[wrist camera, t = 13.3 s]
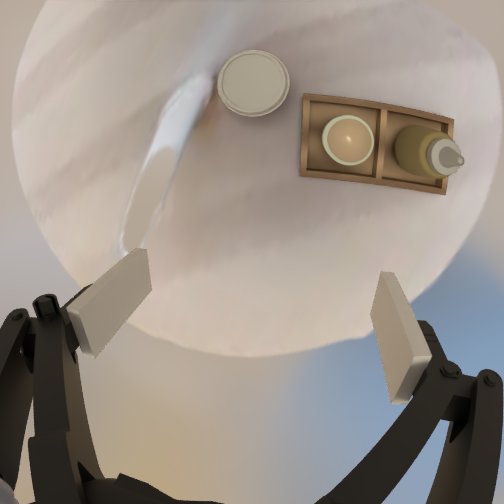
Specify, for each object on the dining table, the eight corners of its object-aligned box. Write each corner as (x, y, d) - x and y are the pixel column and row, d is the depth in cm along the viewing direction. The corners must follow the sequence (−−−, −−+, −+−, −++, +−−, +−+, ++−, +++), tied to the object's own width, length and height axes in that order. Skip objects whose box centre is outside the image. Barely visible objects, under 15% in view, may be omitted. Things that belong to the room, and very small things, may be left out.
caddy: (303, 96, 44) (303, 93, 40) (444, 119, 40) (454, 119, 37) (299, 172, 49) (299, 176, 45) (436, 190, 45) (445, 195, 42)
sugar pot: (321, 114, 44) (325, 112, 36) (364, 119, 43) (376, 118, 35) (319, 157, 46) (322, 163, 38) (361, 161, 45) (372, 169, 38)
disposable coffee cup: (257, 55, 42) (243, 35, 31) (304, 86, 43) (304, 74, 32) (224, 98, 46) (200, 91, 35) (269, 130, 47) (259, 130, 36)
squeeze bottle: (429, 175, 44) (481, 200, 27) (386, 168, 45) (426, 190, 29) (433, 129, 41) (489, 134, 24) (389, 121, 42) (432, 118, 25)
